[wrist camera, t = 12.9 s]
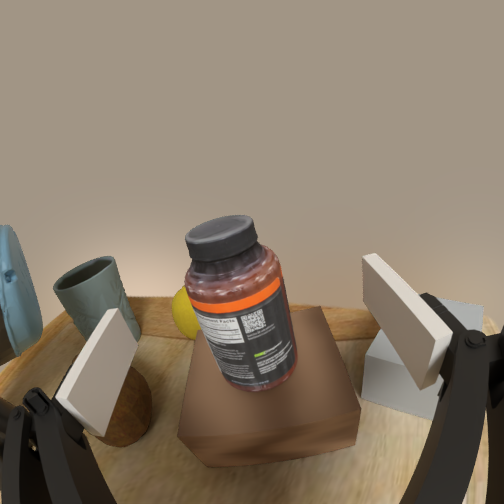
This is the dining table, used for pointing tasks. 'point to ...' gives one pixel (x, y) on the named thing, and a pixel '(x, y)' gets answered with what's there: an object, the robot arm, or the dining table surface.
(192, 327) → the lemon
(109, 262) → the grey green planter pot
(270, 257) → the supplement bottle
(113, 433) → the potato
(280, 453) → the walnut block
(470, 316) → the grey block
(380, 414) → the dining table surface
